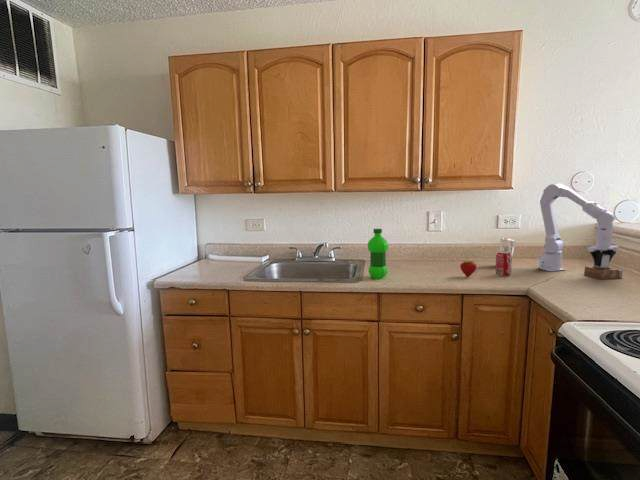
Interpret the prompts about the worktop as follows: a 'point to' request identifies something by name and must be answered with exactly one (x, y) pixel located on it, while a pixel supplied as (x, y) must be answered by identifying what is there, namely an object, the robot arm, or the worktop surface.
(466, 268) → the strawberry
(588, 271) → the square wooden frame
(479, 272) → the worktop surface
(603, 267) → the grey rectangular block
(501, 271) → the soda can
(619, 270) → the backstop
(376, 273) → the plastic bottle
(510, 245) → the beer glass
